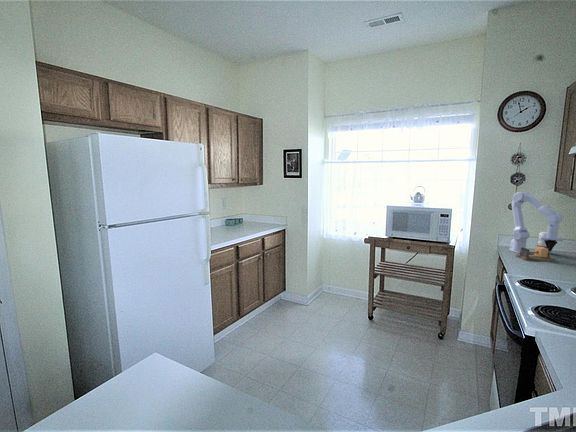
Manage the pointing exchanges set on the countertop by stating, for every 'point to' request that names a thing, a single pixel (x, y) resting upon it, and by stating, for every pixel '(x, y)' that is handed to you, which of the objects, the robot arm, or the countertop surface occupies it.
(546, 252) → the sleeve
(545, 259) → the rail stand
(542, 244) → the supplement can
